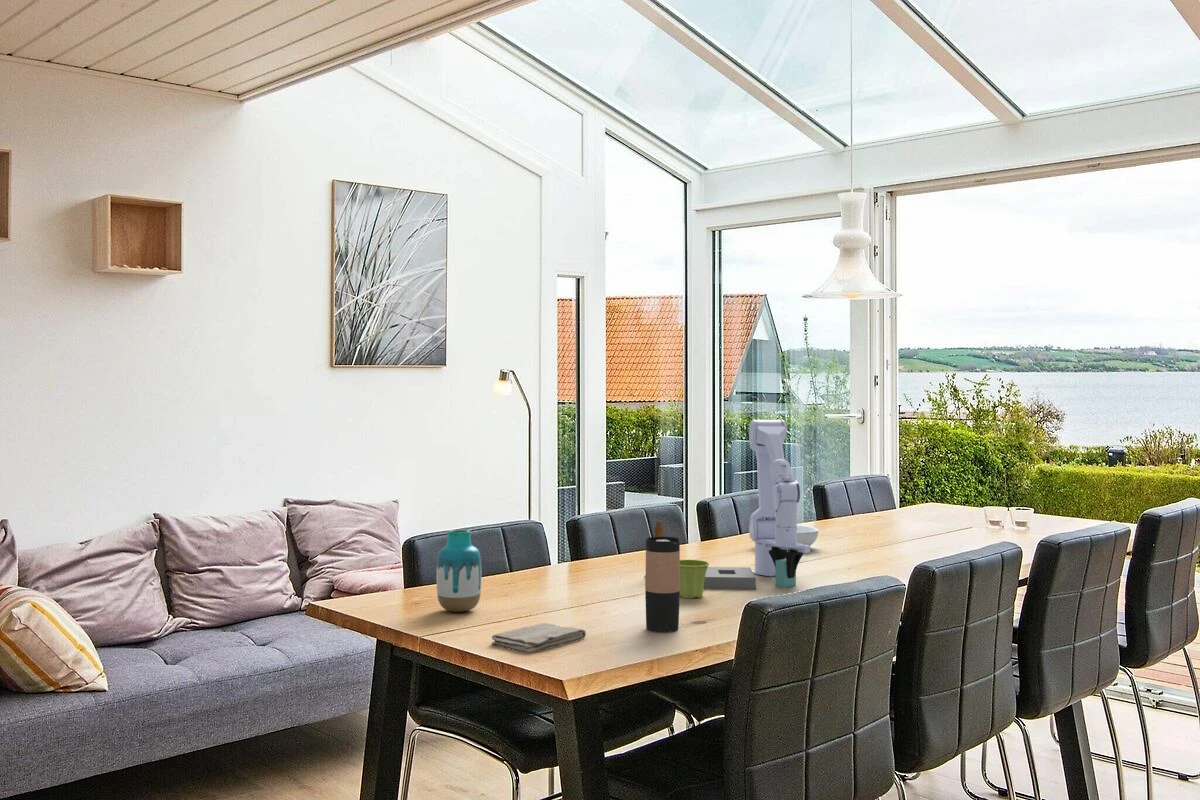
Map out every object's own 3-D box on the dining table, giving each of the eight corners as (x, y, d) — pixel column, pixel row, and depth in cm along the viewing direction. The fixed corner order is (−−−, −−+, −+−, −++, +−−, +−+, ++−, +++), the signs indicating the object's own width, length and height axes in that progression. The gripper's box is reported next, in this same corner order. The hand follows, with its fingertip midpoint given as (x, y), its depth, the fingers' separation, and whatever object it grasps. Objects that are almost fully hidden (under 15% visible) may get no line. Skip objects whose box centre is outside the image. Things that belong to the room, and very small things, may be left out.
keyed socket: (699, 577, 306) (699, 566, 306) (749, 578, 305) (750, 567, 305) (702, 588, 290) (702, 576, 290) (755, 588, 289) (755, 577, 289)
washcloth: (487, 647, 226) (487, 632, 226) (545, 632, 241) (545, 618, 240) (530, 656, 219) (530, 641, 219) (586, 640, 233) (587, 626, 233)
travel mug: (643, 625, 246) (643, 536, 245) (676, 624, 246) (677, 536, 246) (647, 633, 238) (647, 541, 238) (682, 632, 239) (682, 541, 238)
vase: (462, 617, 252) (462, 535, 252) (427, 612, 258) (427, 531, 258) (490, 609, 261) (490, 530, 261) (455, 604, 267) (456, 526, 267)
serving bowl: (823, 554, 350) (823, 532, 350) (758, 553, 350) (758, 532, 350) (812, 544, 371) (812, 524, 370) (750, 543, 371) (750, 523, 371)
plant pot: (712, 594, 282) (713, 560, 282) (704, 601, 273) (704, 566, 273) (677, 591, 285) (677, 558, 285) (668, 598, 276) (668, 564, 276)
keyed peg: (786, 583, 297) (787, 557, 297) (795, 585, 295) (796, 559, 295) (775, 586, 294) (775, 559, 294) (784, 587, 291) (784, 561, 291)
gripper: (755, 524, 297) (755, 574, 297) (798, 530, 286) (798, 582, 286) (771, 522, 301) (771, 571, 302) (815, 528, 291) (814, 579, 291)
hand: (785, 576), depth 294 cm, fingers closed on keyed peg, 3 cm apart
